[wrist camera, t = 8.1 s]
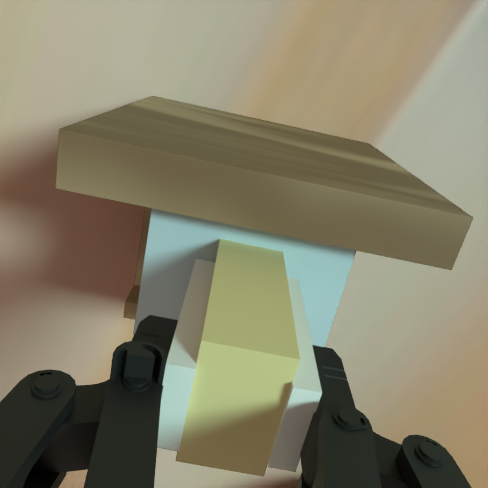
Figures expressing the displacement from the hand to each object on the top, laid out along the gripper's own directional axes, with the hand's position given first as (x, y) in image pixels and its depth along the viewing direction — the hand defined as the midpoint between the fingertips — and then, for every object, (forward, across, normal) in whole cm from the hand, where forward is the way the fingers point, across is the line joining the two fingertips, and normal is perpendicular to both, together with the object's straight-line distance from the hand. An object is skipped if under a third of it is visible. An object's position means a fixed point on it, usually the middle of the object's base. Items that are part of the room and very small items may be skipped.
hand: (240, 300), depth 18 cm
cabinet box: (+7, 0, 0) cm, 7 cm away
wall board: (+14, 0, 0) cm, 14 cm away
